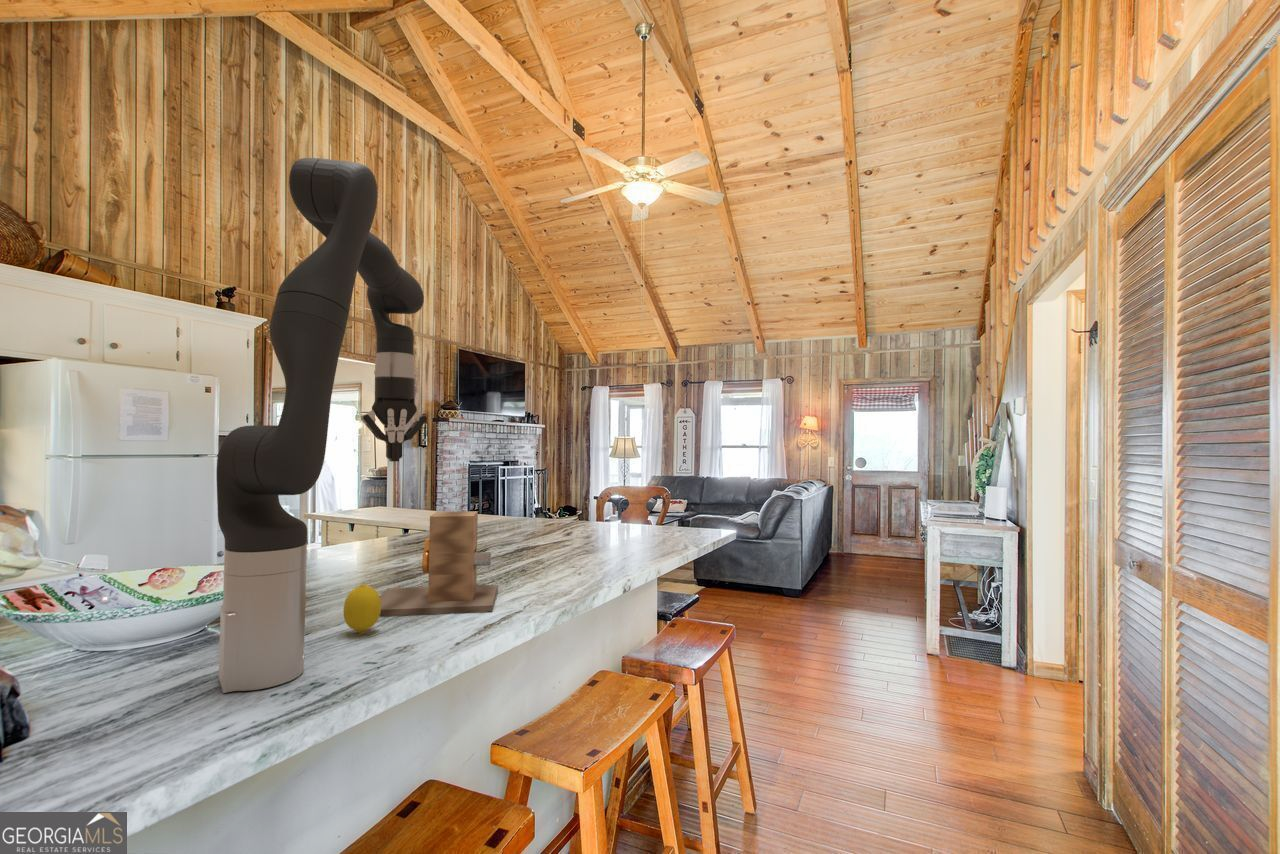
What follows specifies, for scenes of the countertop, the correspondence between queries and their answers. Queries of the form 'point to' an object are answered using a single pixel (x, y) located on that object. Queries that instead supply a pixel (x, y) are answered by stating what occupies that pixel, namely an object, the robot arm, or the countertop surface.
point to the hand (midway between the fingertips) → (394, 461)
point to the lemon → (362, 608)
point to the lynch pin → (479, 558)
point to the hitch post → (445, 573)
